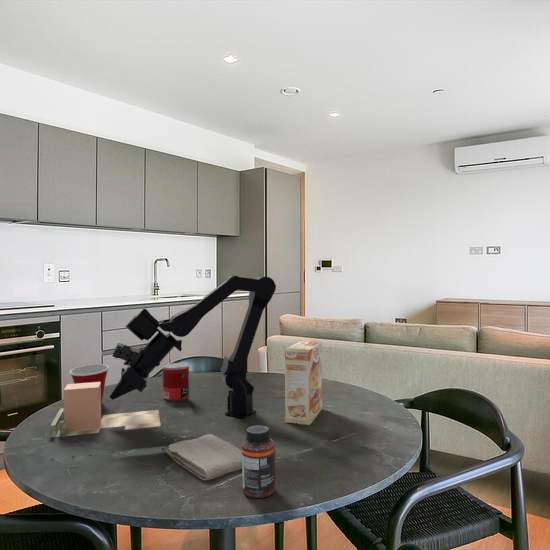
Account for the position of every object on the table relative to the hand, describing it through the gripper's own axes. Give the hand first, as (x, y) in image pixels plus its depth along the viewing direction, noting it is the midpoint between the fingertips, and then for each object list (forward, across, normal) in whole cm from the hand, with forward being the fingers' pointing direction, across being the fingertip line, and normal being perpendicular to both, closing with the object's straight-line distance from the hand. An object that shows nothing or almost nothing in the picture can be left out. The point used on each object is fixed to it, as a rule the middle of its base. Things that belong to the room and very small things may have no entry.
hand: (111, 398), depth 115 cm
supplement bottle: (-14, +45, +25) cm, 53 cm away
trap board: (+6, 0, +5) cm, 7 cm away
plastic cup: (+10, -19, 0) cm, 22 cm away
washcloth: (-9, +28, +20) cm, 36 cm away
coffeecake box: (-30, +7, +41) cm, 51 cm away
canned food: (-7, -19, +18) cm, 27 cm away
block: (+9, 0, 0) cm, 9 cm away
